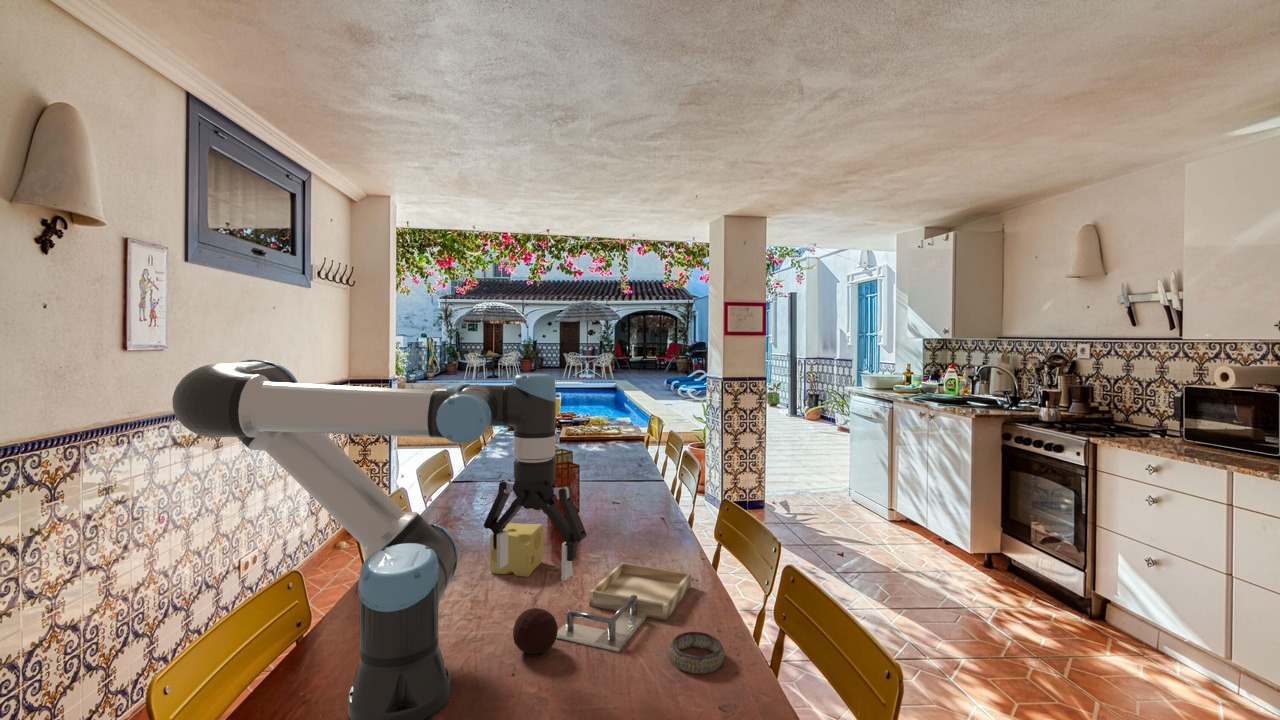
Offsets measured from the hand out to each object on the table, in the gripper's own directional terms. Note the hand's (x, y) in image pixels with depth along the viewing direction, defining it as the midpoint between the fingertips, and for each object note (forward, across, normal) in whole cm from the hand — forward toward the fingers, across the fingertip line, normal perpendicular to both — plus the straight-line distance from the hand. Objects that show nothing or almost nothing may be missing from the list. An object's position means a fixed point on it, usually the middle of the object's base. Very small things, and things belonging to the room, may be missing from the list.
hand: (533, 571), depth 110 cm
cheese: (+15, +24, -32) cm, 43 cm away
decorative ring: (+15, -29, -8) cm, 34 cm away
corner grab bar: (+15, -9, -13) cm, 21 cm away
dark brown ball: (+15, -1, 0) cm, 15 cm away
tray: (+15, -11, -28) cm, 34 cm away
